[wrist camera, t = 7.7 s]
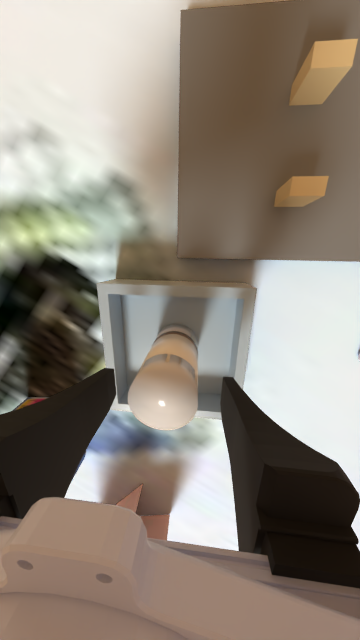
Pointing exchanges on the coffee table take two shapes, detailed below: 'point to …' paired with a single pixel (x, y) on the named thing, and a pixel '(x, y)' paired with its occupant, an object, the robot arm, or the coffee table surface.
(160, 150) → the coffee table surface
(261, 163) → the flat gray square panel
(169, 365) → the led light bulb
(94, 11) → the coffee table surface
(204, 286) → the parts tray
